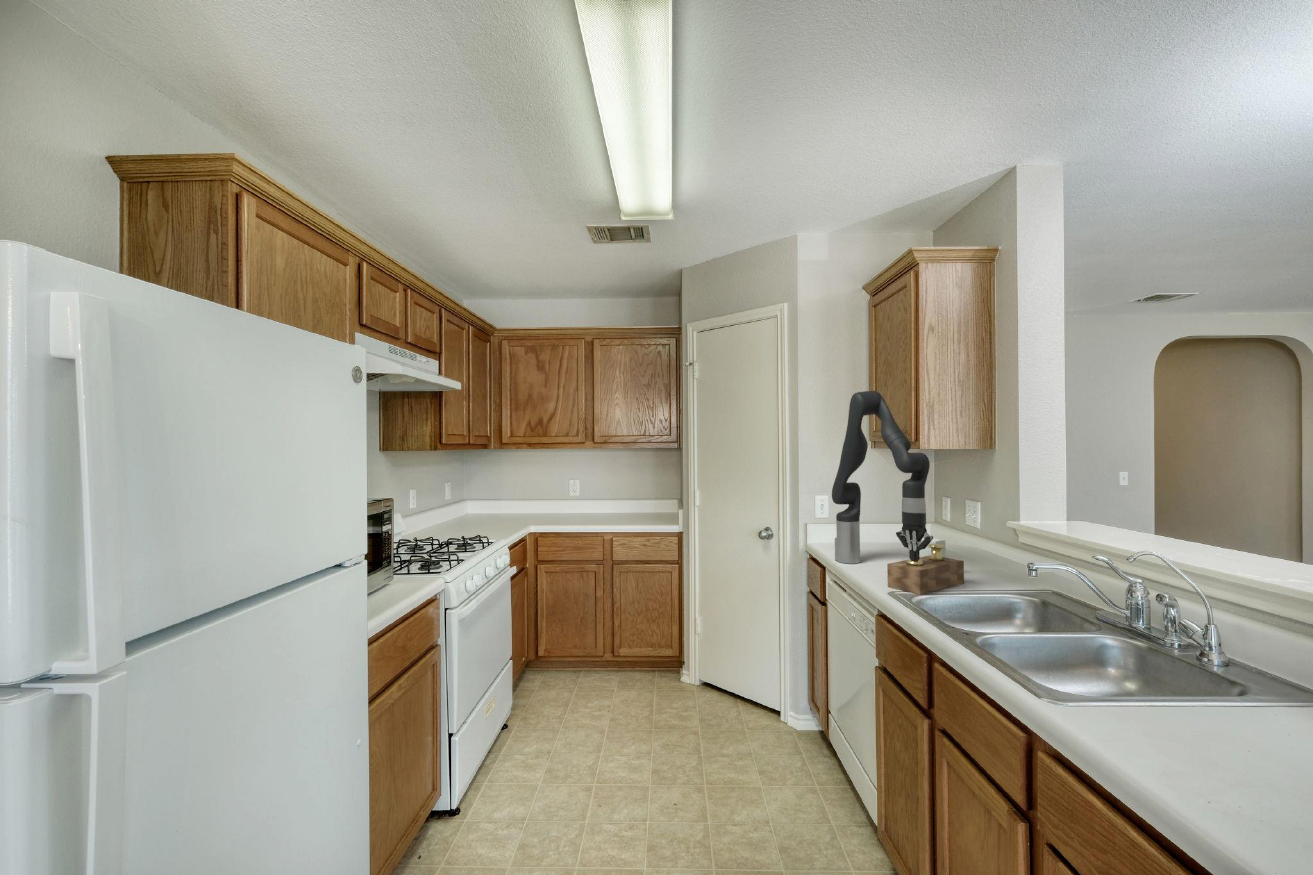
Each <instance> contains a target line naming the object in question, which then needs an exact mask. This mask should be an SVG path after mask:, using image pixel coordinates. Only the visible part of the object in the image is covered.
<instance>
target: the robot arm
mask: <svg viewBox="0 0 1313 875" xmlns="http://www.w3.org/2000/svg"><path fill="white" fill-rule="evenodd" d="M873 415H875V416H876V417H877V418H878V420H879V422H880V435H881V438H882V440H883V442H884V443H885V445H886V446H887V448H888V449H889V451H890V452H891V454H892V457H893V460H894V464H895V466H896V468H897V469H898V470H899V471H900V472H902V473H903V474H904V473H905V474H911V475H910V478H909V479H905V480H904V481H903V482H902V484H901V485H902V486H901V492H902V493H901V494H902V497H901V498H902V500H901V522H902V526H901V530H899V531H896V532H895V535H896V537H897V538H898V540H899V541H900V542H901V544H902V545H903V547H904V548H906V549H908V552H909V559H911V561H914V562H917V561H918V560H919V559H920V556H919V555H920V553H919V551H920V550H922V549H925V548H926V547H927V546H928V544H929V543H930V542H931V541H932V540H933V538H934V536H933V535H930V534H929V533H928V530H927V528H926V525H927V504H926V496H925V495H926V493H925V492H926V490H925V487H926V482H927V480H928V475H929V470H930V466H931V464H930V459H929V457H928V456H927V455H926V453H923V452H909V451H910V450H911V448H912V444H911V441H910V439H909V437H907V436H906V434H905V433H904V432H903V431H902V429H901V428H900V426H899V425H898V423H897V422H896V420H895V418H894V416H893V414H892V412H891V410H890V408H889V406H888V404H887V402H886V400H885V398H884V396H883V395H882V394H881V393H880V392H879V391H877V390H865V391H858V392H855V393H853V394H852V396H851V398H850V402H849V408H848V417H847V418H848V419H847V426H846V430H845V431H846V432H845V435H844V436H845V437H844V441H843V443H842V444H843V445H842V449H841V455H840V460H839V465H838V469H837V472H836V475H835V479H834V481H833V482H834V483H833V485H832V490H831V499H832V502H833V504H836V505H848V507H847V508H846V509H844V510H842V511H839V512H838V513H837V514H836V517H835V519H836V520H835V521H836V537H835V538H834V560H835V561H837V562H838V563H841V564H847V565H848V564H850V565H851V564H860V563H861V536H860V535H861V532H860V531H861V529H860V525H861V524H860V518H861V498H862V497H861V496H862V493H861V492H862V490H861V487H860V485H859V483H857V482H855V481H854V482H848V480H849V479H850V477H851V476H852V475H853V474H854V473H855V471H857V470H858V469H859V468H860V467H861V466H862V465H863V463H864V462H865V461H866V460H865V459H866V455H867V452H868V447H869V446H868V445H869V444H868V441H867V438H866V436H865V433H864V432H863V429H862V423H863V418H864V417H866V416H873ZM922 538H923V539H924V540H923V541H922Z"/></svg>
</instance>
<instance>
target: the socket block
mask: <svg viewBox="0 0 1313 875" xmlns="http://www.w3.org/2000/svg"><path fill="white" fill-rule="evenodd" d="M907 560H911V559H910V558H909V559H905V560H904V559H903V560H901V561H895V562H891V563H887V564H886V565H887V572H886V573H887V588H891V589H895V590H898V591H903V592H906V593H911V594H915V595H919V596H921V595H926V594H930V593H933V592H936V591H941V590H944V589H945V590H946V589H947V588H948V589H949V588H952V587H955V586H960V585H963V584H965V571H964V570H965V567H964V566H965V565H964V564H965V562H964V560H960V559H955V558H951V557H946V558H945V557H942V561H941V562H937V561H932V560H931V555H929V556H924V557H920V559H919V560H920V561H923V565H920V566H918V567H916V566H911V565H909V564H907Z"/></svg>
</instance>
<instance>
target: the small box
mask: <svg viewBox="0 0 1313 875" xmlns="http://www.w3.org/2000/svg"><path fill="white" fill-rule="evenodd" d="M923 538H924V537H923ZM923 538H922V541H923V540H924V539H923ZM929 544H943V545H944V548H943V549H942V557H945V558H947V554H946V553H947V552H946V550H947V549H946V547H947V546H946V545H947V544H946V539H939V538H934V537H933V540H932V541H931V542H930V543H929ZM929 544H928V546H927V547H926V548H925V549H922V550H920V551H919V553H920V555H919V556H920V557H924V556H929V555H931V548H930V547H929Z"/></svg>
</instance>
